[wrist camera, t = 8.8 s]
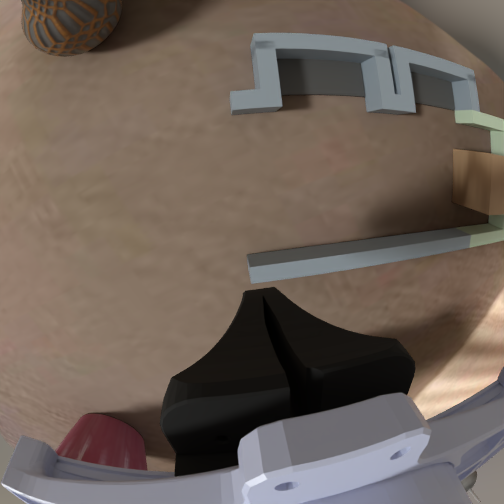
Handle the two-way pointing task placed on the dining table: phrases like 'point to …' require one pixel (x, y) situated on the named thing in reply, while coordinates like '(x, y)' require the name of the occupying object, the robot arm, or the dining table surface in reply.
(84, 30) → the vase
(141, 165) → the dining table surface
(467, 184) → the walnut block
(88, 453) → the plant pot
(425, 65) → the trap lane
